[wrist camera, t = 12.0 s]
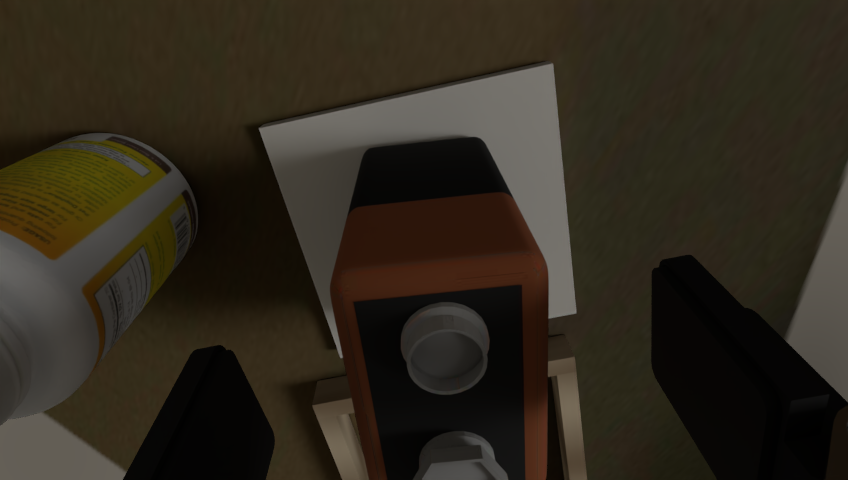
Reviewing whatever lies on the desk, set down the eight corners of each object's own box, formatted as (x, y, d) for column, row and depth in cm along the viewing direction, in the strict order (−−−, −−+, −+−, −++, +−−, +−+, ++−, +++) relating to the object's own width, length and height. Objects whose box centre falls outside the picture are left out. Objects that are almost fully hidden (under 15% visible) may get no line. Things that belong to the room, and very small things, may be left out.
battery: (385, 309, 21) (371, 554, 12) (359, 144, 18) (312, 306, 9) (493, 298, 21) (561, 536, 12) (485, 131, 18) (568, 280, 9)
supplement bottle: (12, 159, 18) (-386, 334, 9) (151, 105, 18) (-128, 235, 8) (106, 286, 21) (-134, 526, 11) (231, 242, 20) (83, 461, 11)
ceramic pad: (263, 124, 18) (258, 128, 17) (548, 61, 17) (553, 63, 17) (342, 349, 22) (340, 358, 22) (572, 305, 22) (576, 313, 21)
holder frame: (317, 380, 23) (311, 405, 22) (564, 334, 22) (574, 356, 21) (378, 535, 28) (376, 563, 27) (582, 501, 27) (591, 528, 26)
